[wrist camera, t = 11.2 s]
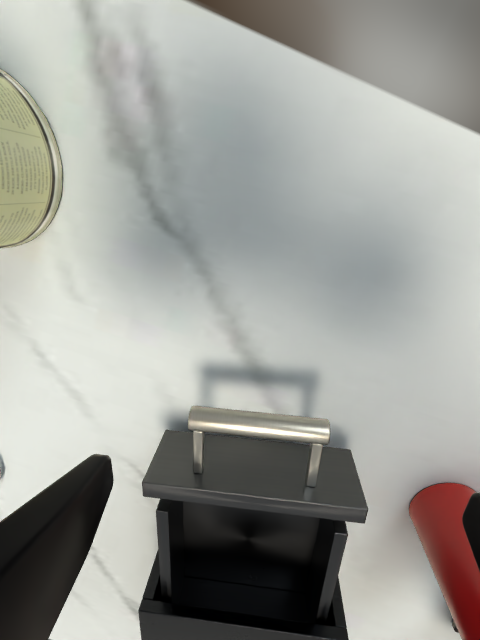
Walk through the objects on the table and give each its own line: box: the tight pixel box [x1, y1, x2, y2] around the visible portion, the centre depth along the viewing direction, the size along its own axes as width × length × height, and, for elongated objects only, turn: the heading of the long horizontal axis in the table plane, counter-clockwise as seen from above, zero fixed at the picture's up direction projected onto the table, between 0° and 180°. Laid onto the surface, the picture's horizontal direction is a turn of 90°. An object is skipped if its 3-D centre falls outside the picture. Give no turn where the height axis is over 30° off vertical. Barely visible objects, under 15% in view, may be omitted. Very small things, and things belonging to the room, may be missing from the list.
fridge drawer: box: [142, 406, 368, 625], centre depth 24 cm, size 20×13×5 cm, turn 177°
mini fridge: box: [139, 550, 349, 640], centre depth 29 cm, size 17×15×7 cm
